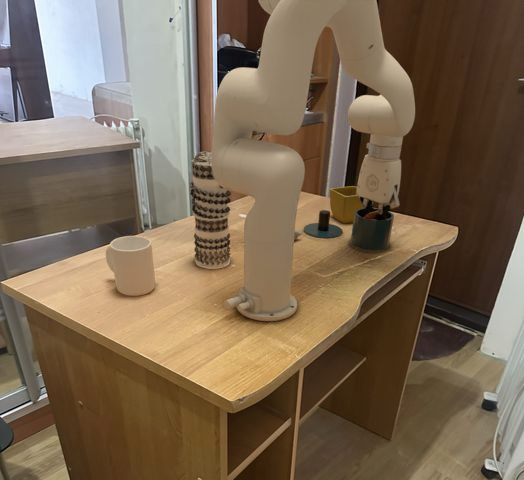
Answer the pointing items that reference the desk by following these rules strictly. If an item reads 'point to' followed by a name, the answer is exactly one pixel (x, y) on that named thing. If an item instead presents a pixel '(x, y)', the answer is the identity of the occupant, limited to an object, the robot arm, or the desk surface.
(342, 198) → the flower pot
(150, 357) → the desk surface
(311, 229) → the pot lid
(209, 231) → the decorative candle
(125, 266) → the mug
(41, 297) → the desk surface
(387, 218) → the pot
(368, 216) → the hot dog
